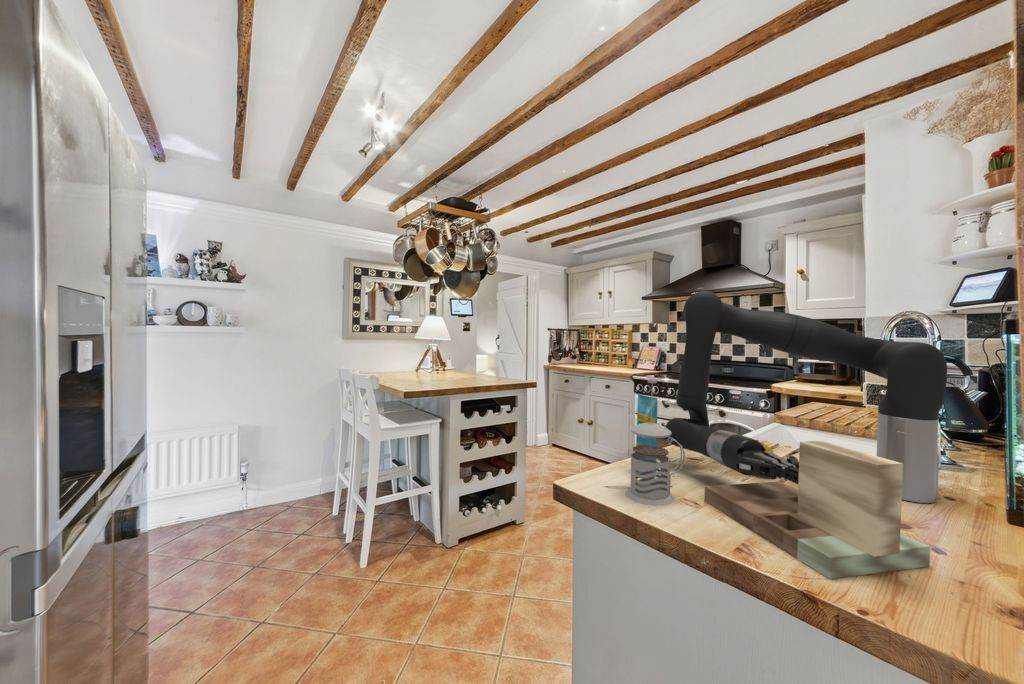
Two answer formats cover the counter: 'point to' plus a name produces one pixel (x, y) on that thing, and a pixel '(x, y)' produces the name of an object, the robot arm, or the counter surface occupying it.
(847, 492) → the block
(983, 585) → the counter surface
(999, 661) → the counter surface
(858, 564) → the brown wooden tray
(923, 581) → the counter surface
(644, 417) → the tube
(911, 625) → the counter surface
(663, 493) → the french press
